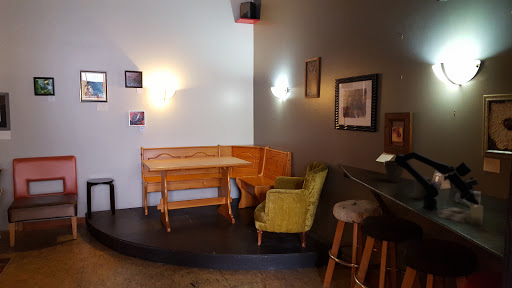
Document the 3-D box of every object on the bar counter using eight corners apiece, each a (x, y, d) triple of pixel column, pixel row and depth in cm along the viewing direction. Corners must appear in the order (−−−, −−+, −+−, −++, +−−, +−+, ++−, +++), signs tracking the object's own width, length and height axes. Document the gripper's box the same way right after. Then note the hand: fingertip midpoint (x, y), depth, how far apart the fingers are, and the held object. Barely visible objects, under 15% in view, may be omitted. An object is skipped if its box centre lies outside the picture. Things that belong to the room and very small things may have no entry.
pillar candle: (431, 200, 253) (432, 177, 252) (415, 199, 255) (416, 176, 254) (428, 197, 263) (429, 174, 261) (412, 196, 264) (413, 174, 263)
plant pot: (379, 180, 316) (380, 161, 314) (393, 179, 322) (394, 159, 320) (393, 184, 302) (394, 163, 301) (407, 182, 309) (408, 162, 307)
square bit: (470, 215, 221) (471, 192, 219) (471, 213, 224) (472, 190, 223) (479, 216, 219) (480, 193, 217) (479, 214, 222) (480, 191, 221)
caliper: (454, 202, 250) (455, 192, 250) (456, 201, 251) (456, 192, 250) (475, 210, 230) (476, 200, 230) (477, 210, 230) (478, 200, 230)
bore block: (438, 216, 218) (438, 211, 218) (451, 212, 226) (452, 207, 226) (463, 222, 207) (464, 217, 206) (477, 218, 215) (477, 212, 214)
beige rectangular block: (466, 224, 204) (467, 205, 203) (472, 222, 208) (473, 203, 207) (478, 227, 200) (479, 207, 199) (484, 225, 203) (485, 206, 202)
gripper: (467, 175, 213) (490, 198, 208) (471, 170, 229) (491, 191, 224) (450, 188, 218) (472, 210, 214) (455, 182, 234) (475, 203, 229)
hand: (478, 203), depth 220 cm, fingers open, 6 cm apart
